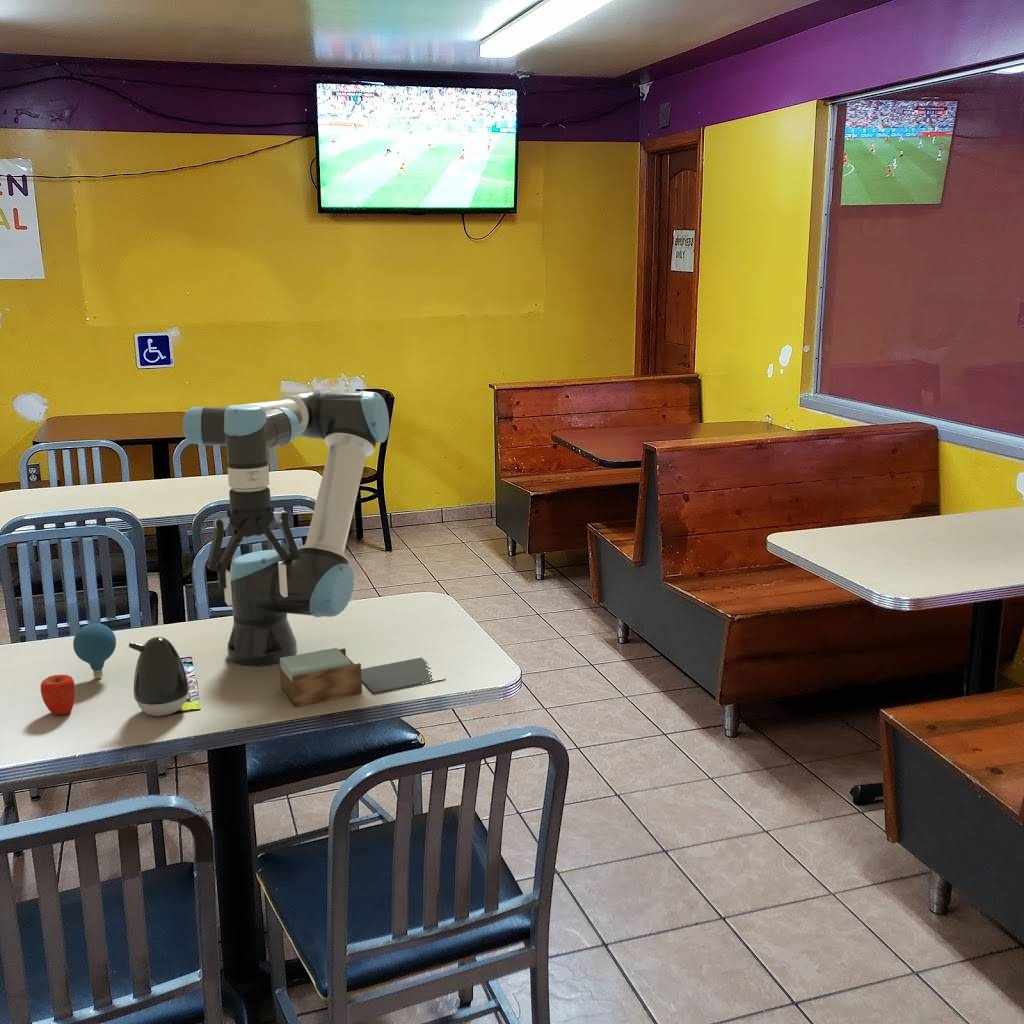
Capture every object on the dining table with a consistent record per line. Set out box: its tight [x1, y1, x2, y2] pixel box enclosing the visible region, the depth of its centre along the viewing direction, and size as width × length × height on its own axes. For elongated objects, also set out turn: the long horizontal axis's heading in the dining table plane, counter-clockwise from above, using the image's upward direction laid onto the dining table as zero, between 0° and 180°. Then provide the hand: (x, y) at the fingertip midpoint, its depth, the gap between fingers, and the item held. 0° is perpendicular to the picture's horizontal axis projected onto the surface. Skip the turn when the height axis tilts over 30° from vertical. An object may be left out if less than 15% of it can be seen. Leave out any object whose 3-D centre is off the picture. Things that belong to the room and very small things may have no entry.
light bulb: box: [72, 622, 117, 679], centre depth 215 cm, size 8×8×12 cm
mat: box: [361, 657, 433, 695], centre depth 217 cm, size 16×13×1 cm
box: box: [278, 648, 363, 708], centre depth 209 cm, size 14×10×6 cm
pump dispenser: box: [128, 636, 190, 717], centre depth 199 cm, size 10×10×15 cm
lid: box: [280, 647, 351, 682], centre depth 208 cm, size 12×8×2 cm
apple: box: [40, 674, 76, 716], centre depth 199 cm, size 6×6×8 cm
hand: (256, 599), depth 199 cm, fingers open, 10 cm apart
